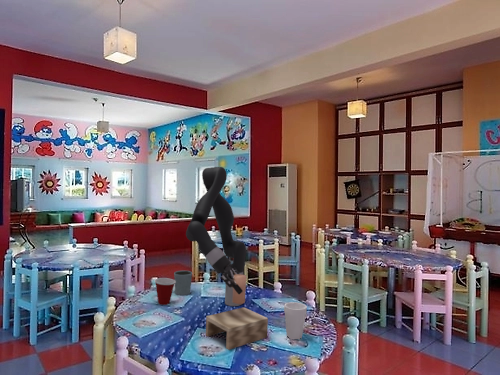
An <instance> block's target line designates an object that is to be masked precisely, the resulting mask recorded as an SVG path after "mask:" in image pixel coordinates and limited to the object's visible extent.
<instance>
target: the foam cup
mask: <svg viewBox="0 0 500 375" xmlns="http://www.w3.org/2000/svg"><path fill="white" fill-rule="evenodd" d="M307 308H308V306H307V305H306V304H305V303H302V302H295V301H292V302H286V303H284V306H283V311H284V320H285V329H286V330H285V332H286V337H287V336H288V337H289V338H291V339H290V340H292V339H299V340H301V339H302V337H303V334H304V329H305V328H304V327H305V321H306V315H307ZM288 337H287V338H288ZM289 338H288V339H289ZM300 338H301V339H300Z"/></svg>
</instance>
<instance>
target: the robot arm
mask: <svg viewBox="0 0 500 375" xmlns="http://www.w3.org/2000/svg"><path fill="white" fill-rule="evenodd" d="M201 176H202V181H203V186H204V187H205V189H206V192H205V194H203V195H202V196H201V197H200V198H199V200H198V202H197V203H196V206H195V208H194V211H193V214H192V218H191V220H190V222H189V224H188V225H187V229H186V231H185V236H186V238H187V240H189V242H196V244H197V246H198V250H199V251H200V253H202V255H203V256H204V257H205V259H206V261H207V262H208V264H209V265H210V266H211V267H212V268H213V270H214V271H215V273H216V274H221V276H220V279H221V280H222V281H223V282H224V283H225V287H224V288H225V290H224V292H225V293H224V295H225V296H224V304H225V305H226V306H230V307H238V306H241V305H243V304H236V303H233V302H232V298H233V288H234V289H235V291H236V292H237V293H238V294H240V293H242V292H243V290H242V289H241V288H240V287H239V285H238V284H237V283H236V281H235V277H234V275H236V274H242V275H244V268H245V265H246V258H247V257H246V255H247V246H246V244H245V242H243V241H239V240H235V239H234V237H233V235H232V228H233V225H234V222H235V215H234V212H233V208H232V206H231V205H230V203H229V202H228V200H226V199H225V197H224V196H223V195H222V194H221V191H222V189H223V188H224V186H225V184H226V182H227V179H228V177H227V176H228V174H227V170H226V169H225V168H224V167H222V166H213V167H211V166H210V167H206V168H205V167H204V169H203V170H202V172H201ZM212 210H213V214H214V217H215V220H216V223H217V227H218V230H219V234H220V238H221V239H220V240H221V244H222V249H221V248H220V247H218V245H217V244H216V243H215V241H213V239H212V237H211V235H210V233H209V232H208V230H207V228H206V227H205V226H206V222H207V221H208V218H210V214H211V211H212ZM230 258H231V259H233V260H232V262H231V260H230ZM247 288H248V286H247V285H246V289H247Z"/></svg>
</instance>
